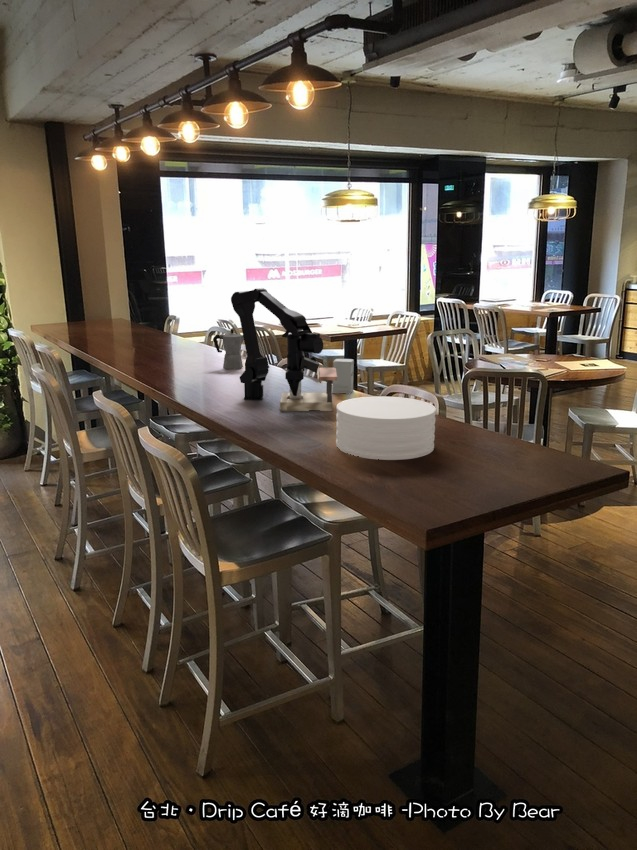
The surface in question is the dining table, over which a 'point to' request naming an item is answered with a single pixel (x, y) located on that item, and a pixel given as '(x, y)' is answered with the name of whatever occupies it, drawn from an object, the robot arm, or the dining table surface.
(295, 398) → the peg
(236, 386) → the dining table surface
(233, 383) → the dining table surface
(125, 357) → the dining table surface
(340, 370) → the supplement box
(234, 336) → the coffeepot
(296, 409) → the socket block
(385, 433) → the plate stack
